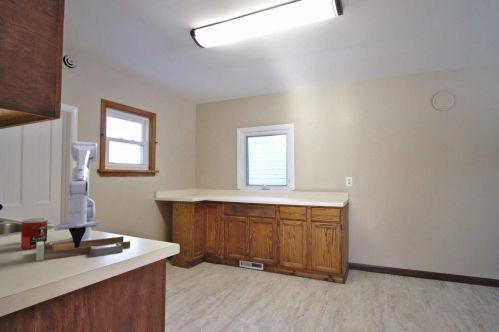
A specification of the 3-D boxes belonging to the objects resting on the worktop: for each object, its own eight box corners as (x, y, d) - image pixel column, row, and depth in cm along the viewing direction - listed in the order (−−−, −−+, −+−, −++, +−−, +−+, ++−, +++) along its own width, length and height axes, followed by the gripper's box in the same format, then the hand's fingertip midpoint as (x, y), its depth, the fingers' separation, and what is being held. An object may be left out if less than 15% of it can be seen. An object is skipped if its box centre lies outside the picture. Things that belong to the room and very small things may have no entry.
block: (51, 253, 102) (52, 242, 102) (70, 250, 106) (71, 240, 106) (54, 257, 97) (54, 245, 97) (73, 254, 101) (74, 243, 101)
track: (42, 252, 103) (43, 245, 103) (122, 242, 120) (122, 236, 120) (43, 259, 94) (43, 252, 94) (130, 247, 111) (130, 241, 111)
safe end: (36, 252, 102) (36, 242, 102) (42, 252, 103) (43, 241, 103) (36, 260, 93) (36, 249, 93) (43, 259, 94) (44, 248, 94)
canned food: (31, 250, 106) (33, 221, 106) (15, 249, 107) (16, 220, 108) (50, 245, 113) (51, 218, 114) (34, 244, 115) (35, 217, 115)
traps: (49, 248, 108) (49, 242, 109) (110, 241, 122) (110, 235, 122) (51, 262, 91) (51, 254, 91) (122, 252, 104) (122, 245, 105)
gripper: (55, 214, 98) (53, 253, 97) (101, 211, 107) (99, 247, 106) (54, 212, 103) (53, 248, 103) (98, 209, 112) (96, 243, 112)
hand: (76, 247), depth 105 cm, fingers closed
